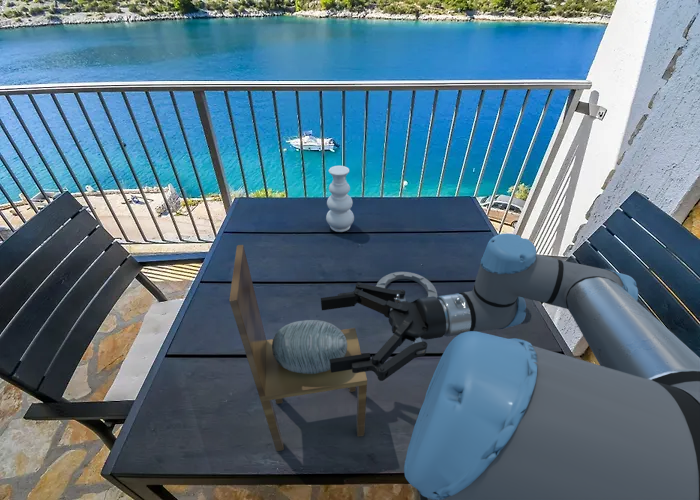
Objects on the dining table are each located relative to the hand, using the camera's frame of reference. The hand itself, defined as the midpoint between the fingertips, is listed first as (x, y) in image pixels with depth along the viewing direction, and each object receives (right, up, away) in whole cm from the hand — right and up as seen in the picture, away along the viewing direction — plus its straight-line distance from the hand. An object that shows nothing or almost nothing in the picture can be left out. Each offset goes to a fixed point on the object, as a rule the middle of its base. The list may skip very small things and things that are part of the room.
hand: (325, 332), depth 61 cm
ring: (+22, +1, +49) cm, 53 cm away
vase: (+1, +23, +77) cm, 81 cm away
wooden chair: (-3, -23, +18) cm, 30 cm away
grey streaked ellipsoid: (-3, -6, +5) cm, 8 cm away
